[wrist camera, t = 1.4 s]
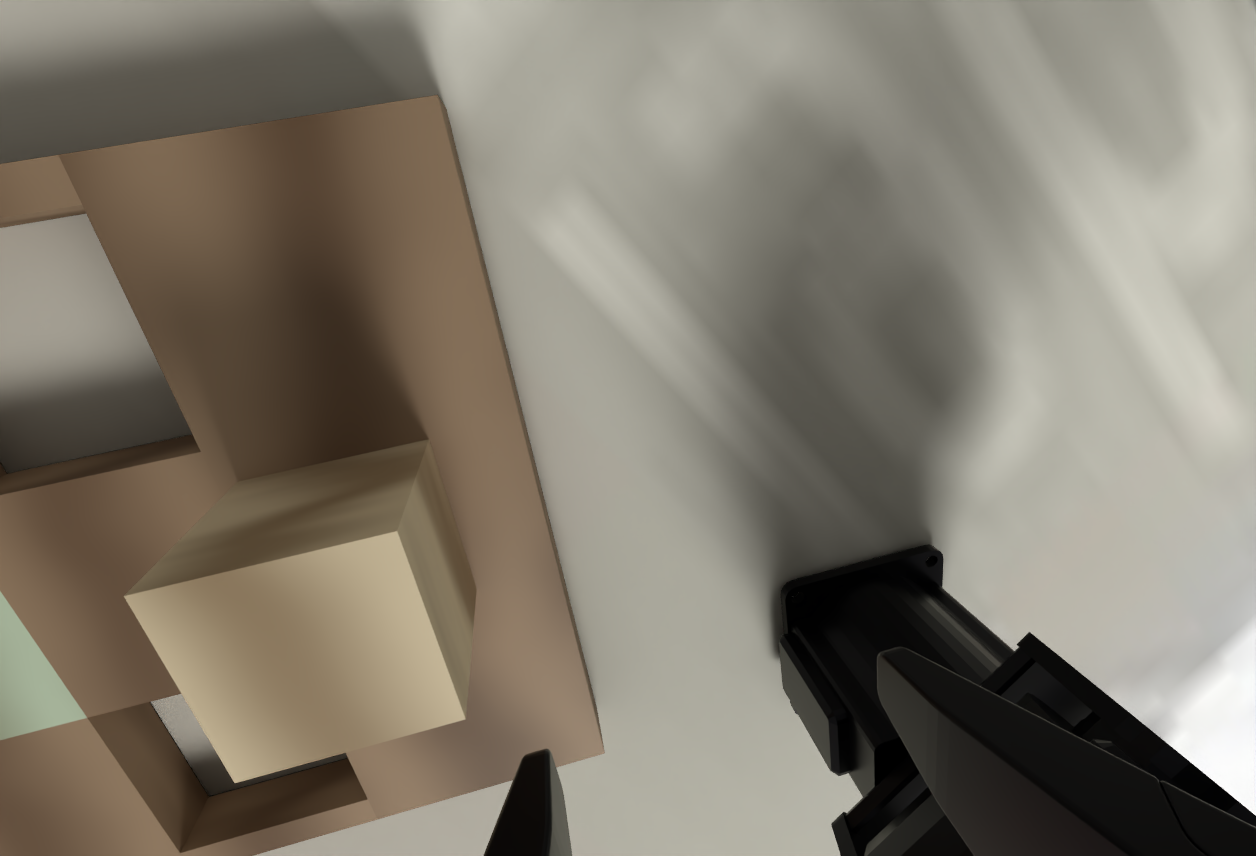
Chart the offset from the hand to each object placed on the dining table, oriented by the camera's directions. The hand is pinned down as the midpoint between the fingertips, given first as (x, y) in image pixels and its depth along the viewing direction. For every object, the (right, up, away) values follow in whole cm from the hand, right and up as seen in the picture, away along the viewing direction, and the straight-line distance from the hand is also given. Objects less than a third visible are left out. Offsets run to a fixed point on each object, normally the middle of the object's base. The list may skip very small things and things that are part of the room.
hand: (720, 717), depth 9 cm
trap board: (-14, +1, +9) cm, 17 cm away
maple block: (-9, +1, +7) cm, 12 cm away
